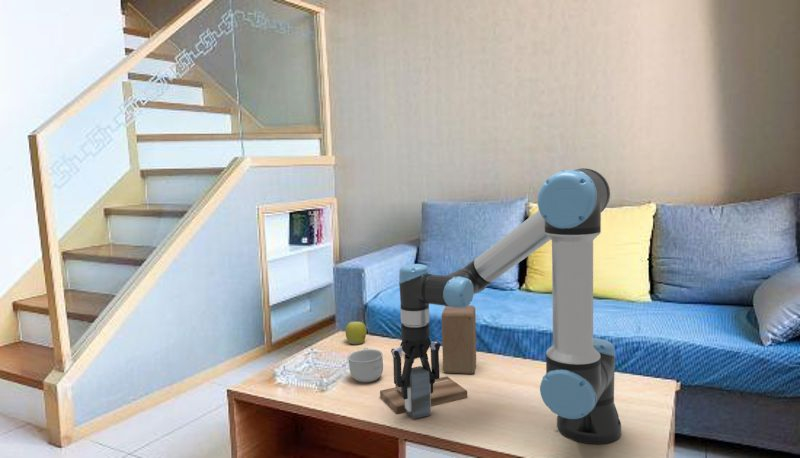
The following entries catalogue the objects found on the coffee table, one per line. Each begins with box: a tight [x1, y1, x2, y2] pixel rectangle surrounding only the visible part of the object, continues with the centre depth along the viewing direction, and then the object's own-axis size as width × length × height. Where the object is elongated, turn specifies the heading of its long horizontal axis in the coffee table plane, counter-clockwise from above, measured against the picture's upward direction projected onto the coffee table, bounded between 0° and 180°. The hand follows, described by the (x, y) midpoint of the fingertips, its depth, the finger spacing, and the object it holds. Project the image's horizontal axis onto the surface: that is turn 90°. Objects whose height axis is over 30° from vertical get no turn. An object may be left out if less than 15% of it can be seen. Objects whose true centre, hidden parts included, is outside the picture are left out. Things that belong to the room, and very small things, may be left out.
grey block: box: [394, 365, 432, 420], centre depth 155 cm, size 16×5×12 cm, turn 24°
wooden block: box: [441, 304, 477, 375], centre depth 180 cm, size 10×10×20 cm
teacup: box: [347, 347, 384, 384], centre depth 177 cm, size 14×11×8 cm
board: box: [379, 375, 468, 415], centre depth 161 cm, size 12×22×2 cm, turn 114°
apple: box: [345, 317, 367, 345], centre depth 210 cm, size 8×8×10 cm
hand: (417, 407), depth 150 cm, fingers closed on grey block, 5 cm apart
